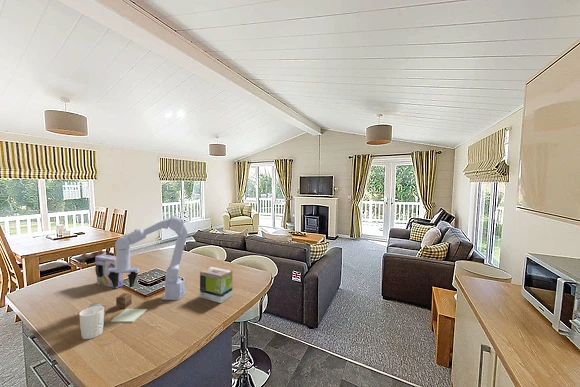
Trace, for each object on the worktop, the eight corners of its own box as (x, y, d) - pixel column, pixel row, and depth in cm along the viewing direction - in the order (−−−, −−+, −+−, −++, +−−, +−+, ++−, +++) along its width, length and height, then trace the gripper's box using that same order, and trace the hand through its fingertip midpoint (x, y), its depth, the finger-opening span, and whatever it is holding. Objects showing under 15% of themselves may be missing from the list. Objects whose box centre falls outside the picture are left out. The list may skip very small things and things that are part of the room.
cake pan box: (94, 283, 143) (94, 255, 142) (103, 280, 148) (103, 253, 147) (114, 289, 136) (114, 259, 135) (123, 286, 141) (123, 257, 140)
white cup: (89, 328, 100) (89, 305, 100) (109, 327, 101) (108, 305, 100) (74, 340, 92) (73, 316, 92) (95, 340, 93) (95, 315, 92)
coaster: (147, 310, 115) (147, 309, 115) (133, 322, 105) (133, 321, 105) (126, 309, 115) (126, 308, 115) (111, 321, 105) (111, 320, 105)
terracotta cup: (107, 314, 110) (107, 305, 110) (100, 319, 106) (100, 310, 106) (99, 314, 111) (99, 305, 110) (91, 319, 107) (91, 309, 106)
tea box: (232, 295, 131) (233, 270, 131) (220, 304, 122) (220, 276, 121) (212, 290, 138) (212, 265, 137) (199, 297, 128) (199, 271, 128)
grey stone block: (101, 310, 114) (101, 302, 114) (98, 314, 110) (97, 306, 110) (91, 311, 113) (91, 303, 113) (87, 316, 109) (87, 307, 109)
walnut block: (131, 303, 121) (131, 293, 120) (125, 308, 116) (125, 297, 116) (122, 303, 121) (122, 293, 120) (116, 308, 116) (116, 297, 116)
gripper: (142, 257, 123) (142, 283, 124) (113, 257, 122) (114, 283, 123) (134, 262, 116) (135, 289, 117) (104, 262, 115) (104, 289, 116)
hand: (123, 286), depth 119 cm, fingers open, 7 cm apart
